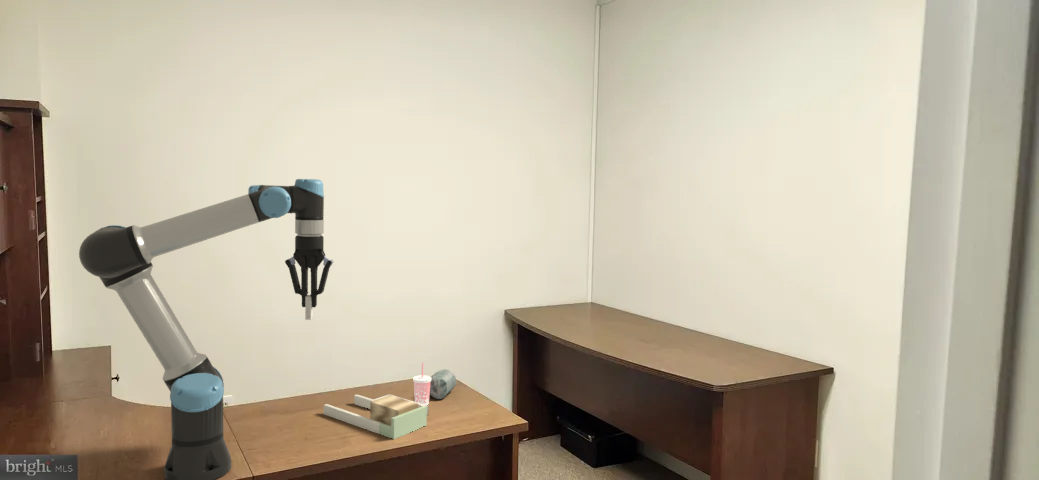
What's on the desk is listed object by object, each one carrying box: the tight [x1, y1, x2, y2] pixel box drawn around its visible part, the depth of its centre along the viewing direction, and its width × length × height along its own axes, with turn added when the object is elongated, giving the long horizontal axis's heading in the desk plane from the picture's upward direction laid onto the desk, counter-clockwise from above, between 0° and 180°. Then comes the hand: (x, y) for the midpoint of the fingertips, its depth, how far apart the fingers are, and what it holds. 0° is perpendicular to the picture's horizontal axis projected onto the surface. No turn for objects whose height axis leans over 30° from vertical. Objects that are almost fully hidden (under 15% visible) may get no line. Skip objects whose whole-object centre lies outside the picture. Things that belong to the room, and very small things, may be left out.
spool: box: [430, 369, 457, 400], centre depth 231 cm, size 14×10×10 cm
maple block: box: [369, 394, 418, 426], centre depth 201 cm, size 12×8×8 cm, turn 54°
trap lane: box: [323, 393, 429, 440], centre depth 208 cm, size 31×20×6 cm, turn 54°
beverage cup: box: [412, 362, 432, 406], centre depth 220 cm, size 6×6×14 cm
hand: (309, 318), depth 188 cm, fingers closed
